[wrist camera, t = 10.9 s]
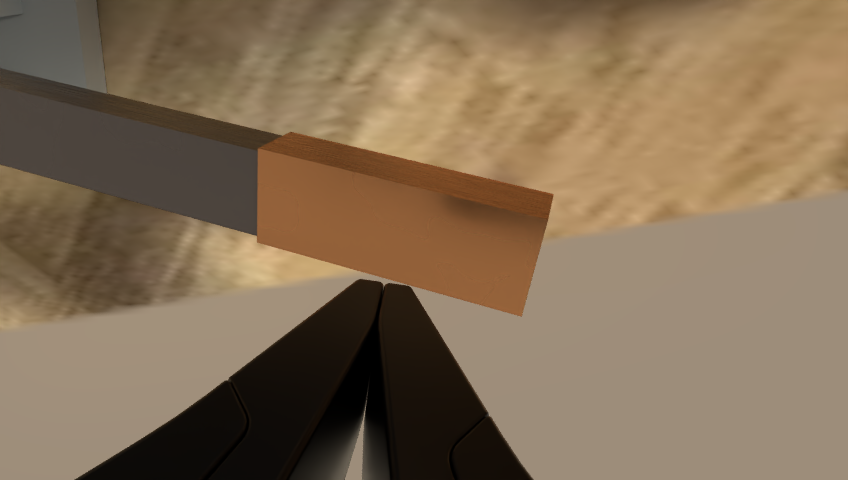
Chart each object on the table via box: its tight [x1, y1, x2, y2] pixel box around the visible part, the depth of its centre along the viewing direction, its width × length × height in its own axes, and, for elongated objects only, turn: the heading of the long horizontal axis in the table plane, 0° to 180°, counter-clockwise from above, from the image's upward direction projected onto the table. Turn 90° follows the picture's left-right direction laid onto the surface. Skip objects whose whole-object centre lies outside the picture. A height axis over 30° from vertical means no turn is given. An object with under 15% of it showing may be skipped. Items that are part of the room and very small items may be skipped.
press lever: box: [0, 68, 554, 316], centre depth 14 cm, size 26×4×4 cm, turn 82°
